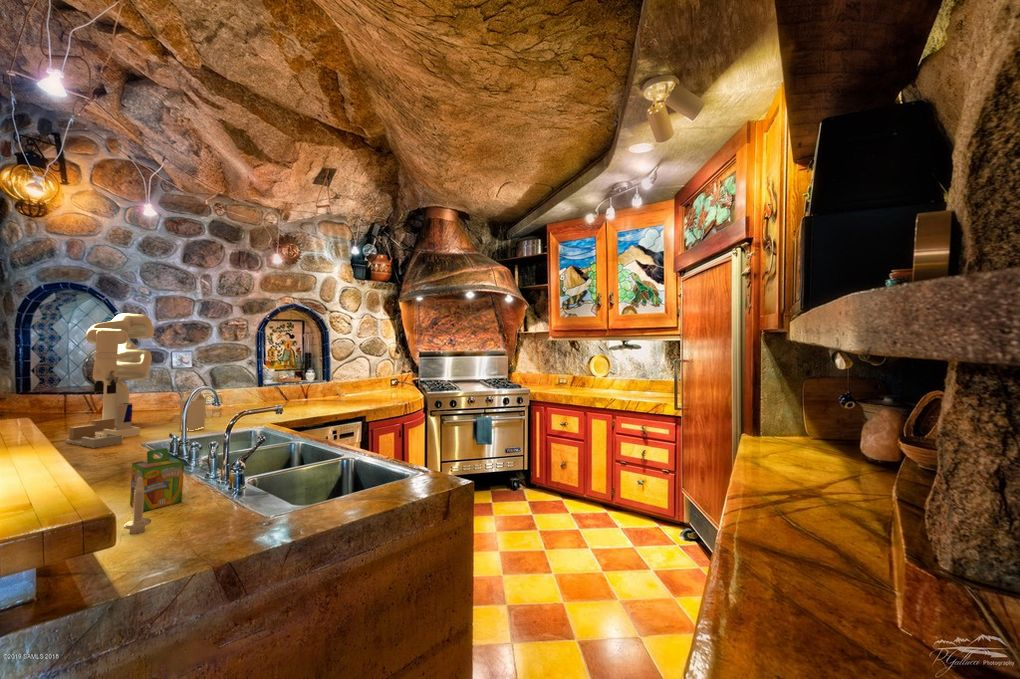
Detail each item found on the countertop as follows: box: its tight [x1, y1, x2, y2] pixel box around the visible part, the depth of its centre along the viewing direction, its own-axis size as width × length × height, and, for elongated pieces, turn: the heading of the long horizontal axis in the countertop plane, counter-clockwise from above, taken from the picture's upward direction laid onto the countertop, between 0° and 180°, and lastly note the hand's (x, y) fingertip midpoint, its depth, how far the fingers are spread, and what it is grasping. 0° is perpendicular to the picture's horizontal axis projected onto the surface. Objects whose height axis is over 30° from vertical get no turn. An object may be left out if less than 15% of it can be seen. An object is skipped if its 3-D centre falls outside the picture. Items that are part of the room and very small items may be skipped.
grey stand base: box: [65, 424, 123, 449], centre depth 172 cm, size 20×9×6 cm, turn 70°
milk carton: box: [178, 390, 207, 432], centre depth 202 cm, size 7×7×19 cm
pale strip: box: [91, 418, 141, 439], centre depth 187 cm, size 20×9×6 cm, turn 70°
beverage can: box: [115, 402, 133, 431], centre depth 185 cm, size 5×5×15 cm
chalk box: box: [129, 447, 185, 512], centre depth 113 cm, size 9×9×15 cm
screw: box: [123, 477, 152, 535], centre depth 96 cm, size 13×5×5 cm
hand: (104, 392), depth 190 cm, fingers open, 9 cm apart
